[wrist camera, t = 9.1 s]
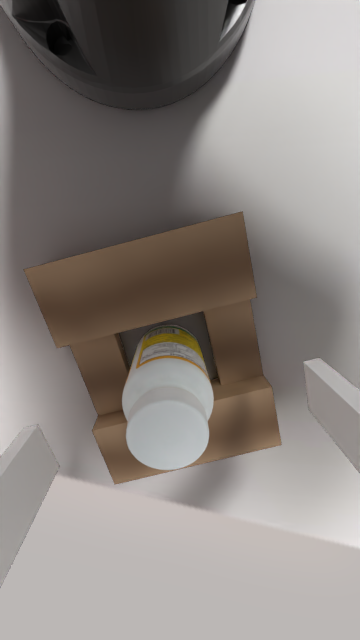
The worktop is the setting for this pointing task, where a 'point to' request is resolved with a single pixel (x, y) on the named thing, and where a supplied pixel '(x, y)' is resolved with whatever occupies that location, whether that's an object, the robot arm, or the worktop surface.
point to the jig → (157, 306)
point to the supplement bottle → (167, 399)
